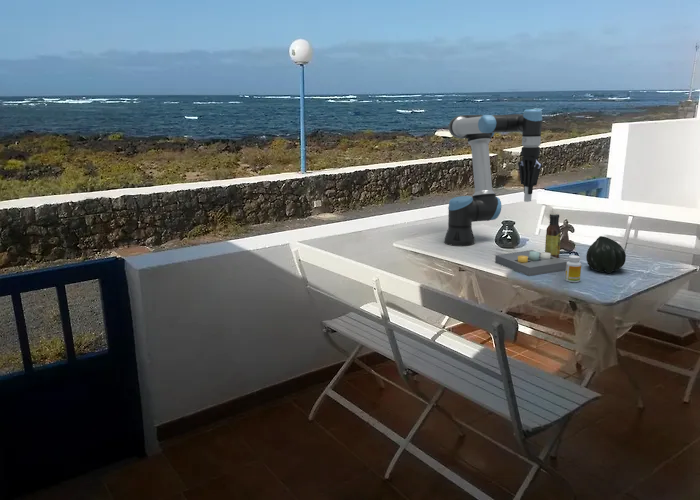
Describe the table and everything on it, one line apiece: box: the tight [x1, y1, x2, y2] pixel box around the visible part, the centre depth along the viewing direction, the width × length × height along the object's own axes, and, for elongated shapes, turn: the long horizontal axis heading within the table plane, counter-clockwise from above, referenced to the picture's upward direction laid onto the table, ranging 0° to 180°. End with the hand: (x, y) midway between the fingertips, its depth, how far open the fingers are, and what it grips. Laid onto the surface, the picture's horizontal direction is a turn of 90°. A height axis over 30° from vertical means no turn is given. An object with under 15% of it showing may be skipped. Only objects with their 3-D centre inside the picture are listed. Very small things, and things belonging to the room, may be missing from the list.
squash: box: [585, 235, 627, 273], centre depth 217 cm, size 14×15×15 cm
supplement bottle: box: [564, 254, 582, 283], centre depth 205 cm, size 5×5×10 cm
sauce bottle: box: [544, 213, 562, 259], centre depth 237 cm, size 7×6×20 cm
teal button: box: [529, 250, 541, 262], centre depth 224 cm, size 4×4×4 cm
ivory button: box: [540, 251, 551, 260], centre depth 226 cm, size 4×4×4 cm
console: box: [494, 249, 569, 277], centre depth 226 cm, size 22×20×4 cm
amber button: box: [518, 255, 528, 263], centre depth 222 cm, size 4×4×4 cm
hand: (527, 201), depth 231 cm, fingers closed
